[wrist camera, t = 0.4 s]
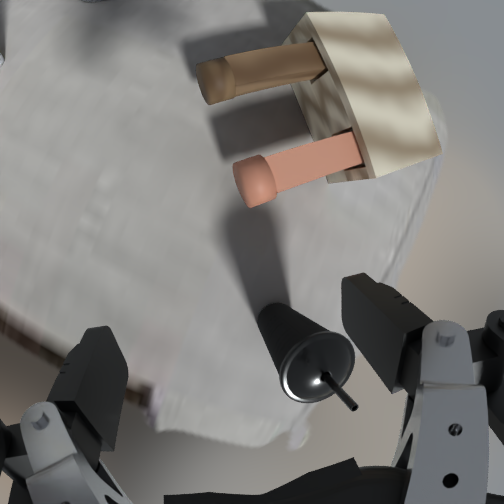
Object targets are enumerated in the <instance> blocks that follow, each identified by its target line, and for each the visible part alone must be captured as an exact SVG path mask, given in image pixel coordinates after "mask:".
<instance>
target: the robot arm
mask: <svg viewBox="0 0 504 504" xmlns="http://www.w3.org/2000/svg"><path fill="white" fill-rule="evenodd" d="M82 1H85V2H98V1H103V0H82ZM341 293H342V323H343V326H344V329H345V331H346V333H347V334H348V336H349V337H350V338H351V340H352V341H353V342H354V344H355V345H356V346H357V348H358V349H359V350H360V352H361V353H362V354H363V356H364V357H365V358H366V360H367V361H368V362H369V364H370V365H371V366H372V368H373V369H374V370H375V372H376V373H377V374H378V376H379V377H380V378H381V380H382V381H383V382H384V384H385V385H386V387H387V388H388V390H389V391H390V392H391V394H393V393H396V392H398V391H400V390H402V389H405V390H406V392H407V393H408V394H407V397H406V402H405V408H404V415H403V420H402V425H401V431H400V435H399V441H398V445H397V449H396V452H395V455H394V458H393V461H392V464H391V467H389V466H364V467H358V465H357V464H356V461H355V460H354V457H353V458H351V459H348V460H345V461H342V462H339V463H336V464H333V465H331V466H327V467H324V468H321V469H318V470H315V471H311V472H308V473H306V474H304V475H302V476H301V477H299V478H297V479H295V480H293V481H291V482H289V483H287V484H285V485H283V486H280V487H278V488H276V489H274V490H272V491H269V492H267V493H265V494H261V495H240V494H225V493H213V492H206V493H195V494H180V495H164V504H504V496H501V495H496V494H491V493H487V482H488V462H489V461H488V460H489V430H488V429H489V428H488V425H489V426H490V428H491V429H492V430H493V431H494V433H495V434H496V435H497V437H498V438H499V440H500V441H501V442H502V444H503V445H504V310H497V311H493V312H491V313H490V314H489V315H488V317H487V320H486V323H485V327H484V328H480V329H475V330H470V331H466V330H465V329H464V328H463V327H462V326H461V325H459V324H457V323H455V322H452V321H446V320H439V321H433V320H431V319H430V318H429V317H428V316H427V315H425V314H424V313H423V312H422V311H421V310H419V309H418V308H417V307H416V306H414V304H412V303H411V302H410V303H409V301H408V300H407V299H406V298H405V297H404V296H402V295H401V294H400V293H399V292H398V291H396V290H395V289H394V288H393V287H390V286H388V285H385V284H383V283H376V282H375V281H374V280H373V279H372V278H370V277H369V276H368V275H367V274H365V273H360V274H356V275H352V276H348V277H344V278H343V279H342V283H341ZM63 364H64V366H62V368H61V370H60V374H58V376H57V378H56V380H55V383H54V385H53V387H52V389H51V391H50V394H49V396H48V398H47V401H46V402H40V403H37V404H34V405H33V406H31V407H30V408H29V409H27V410H26V412H25V413H24V414H23V416H22V418H21V421H20V423H19V424H14V425H10V426H6V425H5V424H4V423H3V422H2V421H1V419H0V475H1V471H3V472H5V473H6V474H7V475H8V476H9V477H10V478H11V479H13V483H12V488H11V492H10V497H9V502H8V504H133V503H132V502H131V501H130V500H129V499H128V497H127V496H126V495H125V493H124V492H123V491H122V489H121V488H120V486H119V485H118V484H117V482H116V481H115V480H114V478H113V477H112V475H111V474H110V472H109V471H108V469H107V468H106V466H105V465H104V463H103V462H102V461H101V460H100V458H99V457H100V451H114V449H115V442H116V436H117V431H118V425H119V419H120V414H121V409H122V404H123V399H124V395H125V390H126V385H127V381H128V367H127V363H126V361H125V358H124V356H123V354H122V352H121V350H120V348H119V346H118V344H117V341H116V339H115V337H114V335H113V333H112V331H111V329H110V328H109V327H108V326H101V327H94V328H88V329H87V330H86V331H85V333H84V335H83V337H82V339H81V341H80V343H79V344H77V345H76V346H75V347H74V348H73V349H72V350H71V351H70V352H69V353H68V355H67V357H66V359H65V361H64V363H63Z"/></svg>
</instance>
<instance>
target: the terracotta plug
mask: <svg viewBox="0 0 504 504" xmlns="http://www.w3.org/2000/svg"><path fill="white" fill-rule="evenodd" d="M361 163H364V160H363V157H362V154H361V151H360V148H359V145H358V142H357V139H356V137H355V134H354V131H352V132H348V133H344V134H341V135H337V136H333V137H330V138H326V139H323V140H319V141H316V142H312V143H309V144H305V145H302V146H299V147H295V148H292V149H289V150H286V151H283V152H279V153H276V154H273V155H270V156H267V157H262V156H261V155H256V156H253V157H250V158H247V159H244V160H241V161H238V162H235V163H233V174H234V178H235V181H236V185H237V187H238V190H239V192H240V194H241V196H242V198H243V200H244V202H245V203H246V205H247V206H248V207H249V208H252V207H255V206H257V205H260V204H262V203H265V202H268V201H270V200H273V199H275V198H276V196H277V193H279V192H282V191H284V190H287V189H290V188H293V187H295V186H298V185H301V184H304V183H306V182H309V181H312V180H315V179H318V178H320V177H323V176H326V175H329V174H332V173H335V172H338V171H340V170H343V169H346V168H349V167H352V166H355V165H358V164H361Z"/></svg>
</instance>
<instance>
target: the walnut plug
mask: <svg viewBox="0 0 504 504" xmlns="http://www.w3.org/2000/svg"><path fill="white" fill-rule="evenodd" d="M328 71H329V70H328V68H327V66H326V64H325V62H324V60H323V57H322V55H321V53H320V51H319V49H318V47H317V45H316V43H315V42H307V43H298V44H290V45H283V46H276V47H269V48H264V49H258V50H252V51H247V52H242V53H238V54H233V55H228V56H224V58H223V57H221V58H217V59H213V60H209V61H206V62H202V63H198V64H197V65H196V75H197V80H198V84H199V87H200V90H201V93H202V95H203V98H204V99H205V101H206V103H207V104H208V105H212V104H215V103H219V102H222V101H226V100H229V99H233V98H234V97H236V96H240V95H243V94H247V93H251V92H255V91H259V90H263V89H268V88H272V87H277V86H281V85H286V84H291V83H296V82H301V81H307V80H313V79H319V78H320V77H321V76H323V75H324V74H325V73H326V72H328Z"/></svg>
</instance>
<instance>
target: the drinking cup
mask: <svg viewBox="0 0 504 504" xmlns="http://www.w3.org/2000/svg"><path fill="white" fill-rule="evenodd" d="M258 327H259V330H260V332H261V334H262V337H263V339H264V341H265V344H266V346H267V348H268V351H269V353H270V355H271V358H272V360H273V362H274V364H275V367H276V369H277V371H278V374H279V380H280V385H281V387H282V389H283V391H284V392H285V394H286V395H287V396H288V397H289V398H291V399H292V400H294V401H297V402H301V403H314V402H318V401H321V400H324V399H326V398H328V397H330V396H332V395H333V394H335V393H336V394H337V396H338V397H339V398H340V399H341V400H342V401H343V402H344V403H345V404H346V406H347V407H348V408H349V409H350V410H351V411H356V410H357V409H358V405H357V403H356V402H355V401H354V400H353V399H352V398H351V397H350V396H349V395H348V394H347V393H346V392H345V391H344V390H343V389H342V388H341V387H342V386H343V385H344V384H345V383H346V382H347V380H348V379H349V377H350V375H351V373H352V371H353V367H354V363H355V352H354V349H353V346H352V344H351V343H350V341H349V340H348V339H347V338H346V337H344V336H343V335H341V334H339V333H336V332H332V331H329V330H327V329H326V328H324V327H322V326H320V325H319V324H317V323H315V322H314V321H312V320H310V319H309V318H307V317H305V316H303V315H302V314H300V313H298V312H297V311H295V310H293V309H292V308H290V307H288V306H287V305H285V304H282V303H272V304H269V305H268V306H266V307H265V308H264V309H263V310H262V311H261V312H260V314H259V316H258Z"/></svg>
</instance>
